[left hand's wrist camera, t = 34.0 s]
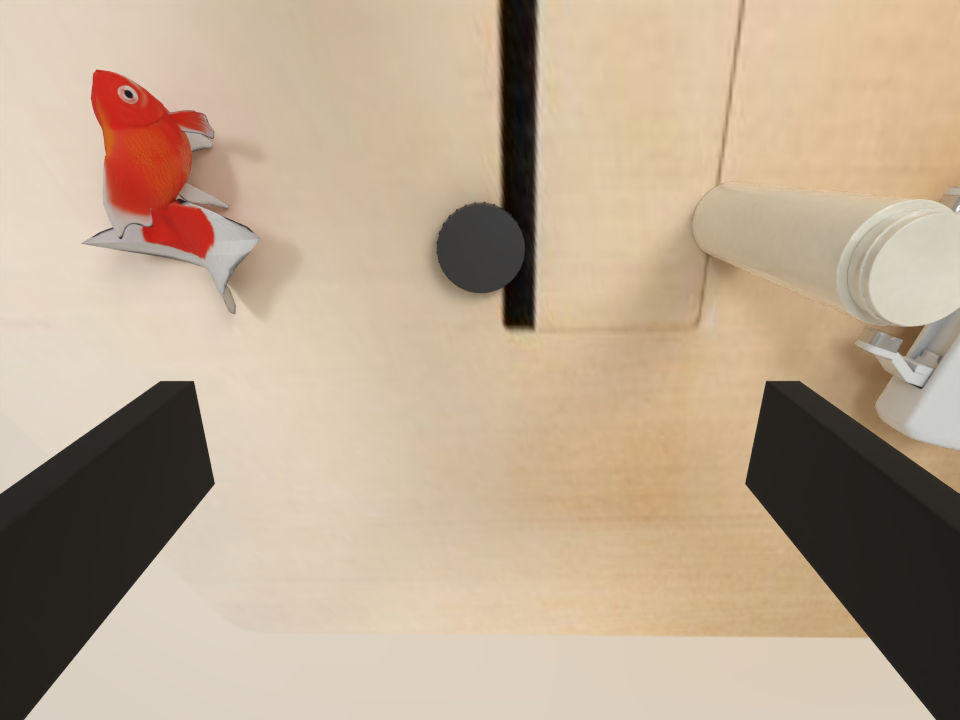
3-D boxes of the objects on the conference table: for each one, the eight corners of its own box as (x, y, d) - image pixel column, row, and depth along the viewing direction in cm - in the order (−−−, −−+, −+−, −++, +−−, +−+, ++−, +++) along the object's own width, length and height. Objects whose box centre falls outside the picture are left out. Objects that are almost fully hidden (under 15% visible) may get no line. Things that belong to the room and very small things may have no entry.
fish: (271, 68, 32) (139, 132, 25) (317, 280, 43) (234, 362, 37) (130, 39, 34) (-25, 91, 28) (208, 247, 46) (111, 319, 39)
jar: (741, 269, 41) (936, 355, 23) (677, 240, 40) (830, 306, 23) (783, 200, 39) (1029, 236, 22) (717, 168, 38) (918, 178, 21)
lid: (541, 239, 40) (544, 243, 39) (487, 305, 42) (487, 311, 40) (474, 182, 39) (474, 183, 37) (420, 253, 40) (418, 257, 39)
